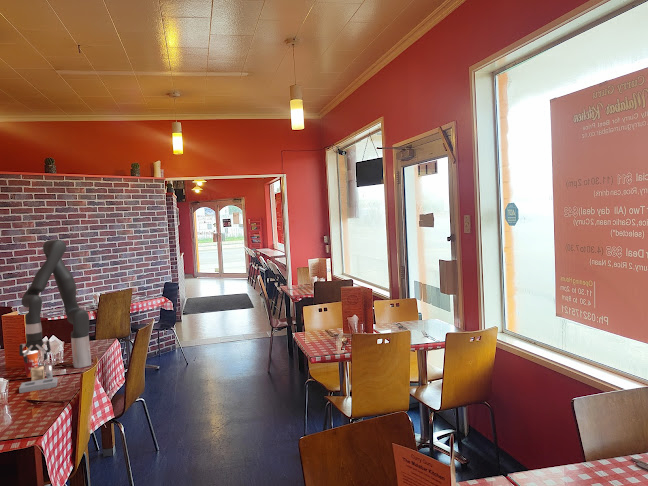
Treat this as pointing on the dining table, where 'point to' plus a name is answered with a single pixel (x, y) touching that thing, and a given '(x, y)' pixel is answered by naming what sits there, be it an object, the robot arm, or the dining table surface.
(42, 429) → the dining table surface
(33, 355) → the paper cup
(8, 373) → the dining table surface
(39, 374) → the tan wooden cube
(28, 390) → the board
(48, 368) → the peg
